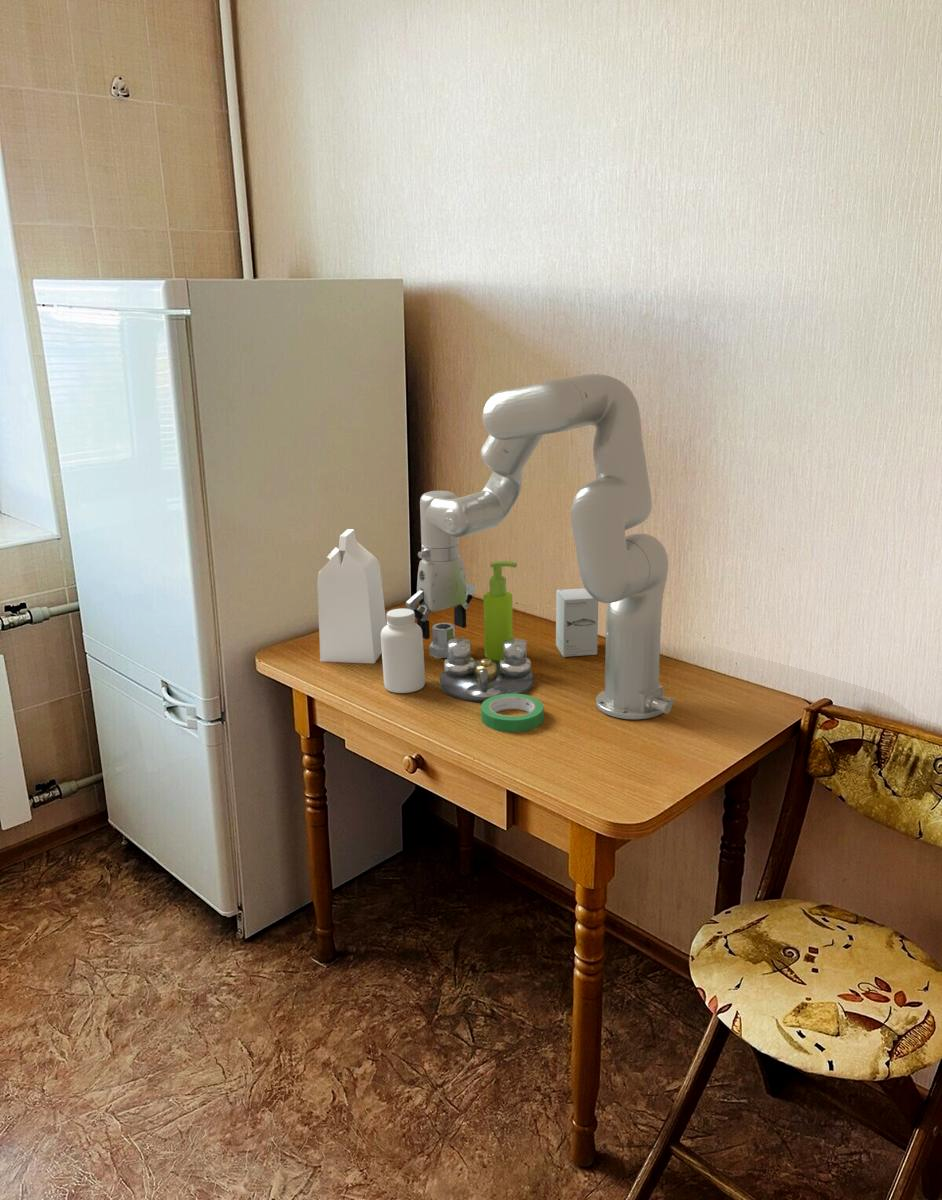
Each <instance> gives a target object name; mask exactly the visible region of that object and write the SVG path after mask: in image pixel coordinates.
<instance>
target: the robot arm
mask: <svg viewBox="0 0 942 1200" xmlns="http://www.w3.org/2000/svg"><path fill="white" fill-rule="evenodd" d="M640 414H641V413H640V408H639V404H638V401H637V399H636V397H635V395H634V393H633V391H632V390H631V389H630V387H628V386H627V385H626V384H625V383H624V382H623V381H622V380H620V379H618V378H615V377H613V376H610V375H606V374H599V373H589V374H588V373H587V374H582V375H575V376H570V377H564V378H559V379H552V380H551V379H550V380H547V381H543V382H538V383H534V384H529V385H525V386H520V387H513V388H508V389H507V388H506V389H501V390H499V391H496V392H495V393H493V394H492V395H491V396H490V397H489V398H488V399H487V400H486V402H485V404H484V407H483V411H482V423H483V427H484V429H485V431H486V432H487V433H488V434H489V435H487V438H486V440H485V442H484V443H483V445H482V447H481V449H480V456H481V460H482V461H483V463H484V465H486V466H487V467H488V468H489V469H490V470H491V471H492V472H491V475H490V477H489V479H488V481H486V483H485V485H484V487H483V489H482V490H481V491H479V492H474V493H471V494H467V495H464V496H461V497H457V495H456V494H455V493H454V492H452V491H447V490H430V491H427V492H424V493H423V494H422V495H421V496H420V500H419V509H420V511H419V513H420V515H419V516H420V538H421V539H420V543H421V547H420V548H421V550H420V551H418V553H417V558H419V559H421V560H419V564H418V571H417V581H416V593H414V594H413V595H412V596H411V597H410V598H408V600H407V601H406V602H405V606H406V609H411V610H413V611H414V612H415V620H416V624H417V625H419V626H420V627H421V629H422V634H423V640H424V639H425V640H429V639H430V638H431V635H430V631H431V630H430V621H429V620H428V618H429V616H430V615H431V613H432V612H439V611H443V610H445V609H449V608H453V619H454V620H453V625H454V626H456V627H460V628H462V629H465V628H467V610H468V609H469V606H470V602H471V601H472V599H473V595H474V592H475V589H476V586H475V585H474V584H471V583H469V582H467V575H466V569H465V564H464V561H463V557H462V556H461V555H459V552H460V551H459V548H460V547H459V542H460V541H459V538H465V537H468V536H472V535H474V534H477V533H480V532H483V531H486V530H489V529H492V528H496V527H497V526H498V525H499V524H501V523H502V522H503V521H504V520H505V518H506V517H507V516H508V515H509V513H510V511H511V510H512V509H513V506H514V505H515V504H516V502H517V500H518V498H519V496H520V493H521V491H522V483H523V475H522V471H523V469H524V467H525V465H526V463H527V462H528V461H529V459H530V457H531V456H532V454H533V453H534V451H535V449H536V448H537V446H538V444H539V443H540V442H541V440H542V438H543V436H544V435H550V434H554V433H557V434H558V433H561V432H567V431H571V430H575V429H579V428H583V427H587V426H593V427H594V428H595V433H594V436H593V438H594V439H593V446H592V454H593V455H592V456H593V461H594V468H595V475H596V476H595V480H592V481H590V482H587V483H585V484H584V485H582V487H580V488H579V490H578V491H576V493H575V495H574V497H573V500H572V504H571V510H570V519H571V520H570V521H571V526H572V534H573V539H574V546H575V551H576V559H577V565H578V570H579V574H580V579H581V581H582V584H583V587H584V588H585V589H586V590H587V592H588V593H589V594H590V595H591V596H592V597H593V598H594V599H596V600H597V601H598V602H600V603H604V604H607V607H606V617H605V619H606V621H605V622H606V623H605V658H604V659H605V664H604V668H605V669H604V690H602V691H601V692H599V693H598V694H597V695H596V698H595V705H596V707H597V708H598V710H599V711H600V712H601V713H603V714H606V715H607V716H611V717H613V718H618V719H624V720H645V719H652V718H655V717H657V716H660V715H661V714H667V715H668V714H669V713H670V712H671V710H672V706H674V703H675V700H674V698H672V697H669V696H665V695H664V685H661V684H660V683H659V682H660V661H661V660H660V658H661V657H660V654H661V633H662V631H661V630H662V629H661V628H662V612H663V611H662V610H663V599H664V595H665V594H664V593H665V588H666V583H667V579H668V573H669V558H668V553H667V551H666V547H665V546H664V545H663V543H662V542H661V541H660V540H659V539H658V538H656V537H655V536H653V535H651V534H646V533H632V534H627V535H626V531H627V530H629V529H633V528H635V527H636V526H639V525H640V524H642V523H644V522H645V521H646V520H647V519H648V518H649V516H650V515H651V512H652V507H653V501H652V493H651V485H650V479H649V474H648V466H647V460H646V455H645V449H644V444H643V443H644V442H643V436H642V435H643V434H642V433H643V431H642V422H641V415H640ZM417 604H418V608H417Z"/></svg>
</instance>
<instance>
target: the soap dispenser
mask: <svg viewBox="0 0 942 1200" xmlns="http://www.w3.org/2000/svg"><path fill="white" fill-rule="evenodd" d="M502 567H509V568H516V567H518V563H517V562H514V561H509V560H500V561H498V560H497V561H490V568H493V569H492V570H493V572H492V574H493V575H492V576H491V577H489V581H488V583H489V584H488V585H489V588H488V589H489V591H488V592H487V591H486V593H484V594H483V626H484V627H483V631H484V632H483V634H484V637H483V638H484V639H483V640H484V657H485V658H487V659H491V660H501V659H503V658H504V641H505V640H508V639H514V631H513V630H514V629H513V627H514V626H513V624H514V622H513V621H514V619H513V615H514V614H513V594H512V593H511V592H509V591H507V578H506V577H504V576H503V575H502V574H503V573H502V572H503V571H502V569H503V568H502Z"/></svg>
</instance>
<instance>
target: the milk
mask: <svg viewBox="0 0 942 1200" xmlns="http://www.w3.org/2000/svg"><path fill="white" fill-rule="evenodd" d="M326 558H327V559H329V560H328V561H327V563H326V564H325V565H323V566H322V568H321V569H320V570H319V571H318V573H317V574H318V575H317V578H316V579H317V580H316V581H317V582H316V583H317V607H318V609H317V611H318V632H319V636H318V637H319V659H320V660H319V661H320V662H325V663H327V662H328V663H330V662H331V663H354V664H355V663H356V664H375V663H376V662H377V660H378V659H379V658H380V656H381V655H382V648H381V631H382V629H383V628H384V627H385V626H386V625H387V616H386V609H385V602H384V601H385V599H384V590H383V582H382V572H381V571H382V570H381V565H380V562H379V560H378V559H377V557H376V556H375V555H374V554H373V553H371V552H370V551H369V550H368V549H366V548H365V547H364V546H363V545H362V544H361V543H359V542H358V541H357V539H356V531H355V529H353V528H351V529H350V528H348V529H346V530H345V531H344V532H343V533H342V534H340V535H339V543H338V546H337V547H336V546H335V547H334V549H332V551H331V552H330V553H329V554H328V555H327V556H326Z"/></svg>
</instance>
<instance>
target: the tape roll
mask: <svg viewBox="0 0 942 1200" xmlns="http://www.w3.org/2000/svg"><path fill="white" fill-rule="evenodd" d="M505 710H520V711H525V712H527V713H524V714H520V715H505V714H501V713H498V712H501V711H505ZM544 710H545V707H544V703H543V702H542V701H541V700H540V699H538V698H536V697H534V696H532V695H528V694H500V695H496V696H493V697H490V698H488V699H486V700H485V701H484V702H481V705H480V712H481V713H480V717H481V718H480V719H481V722H482V723H483V725H484V726H486V727H487V728H490V729H492V730H495V731H497V732H498V731H500V732H504V733H505V732H507V733H515V732H516V733H519V732H524V731H529V730H533V729H535V728H537V727H539V726H540V725H541V724H542V723H543V722H544V720H545V719H544V718H545V717H544V715H545V714H544V713H545V712H544Z"/></svg>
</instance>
